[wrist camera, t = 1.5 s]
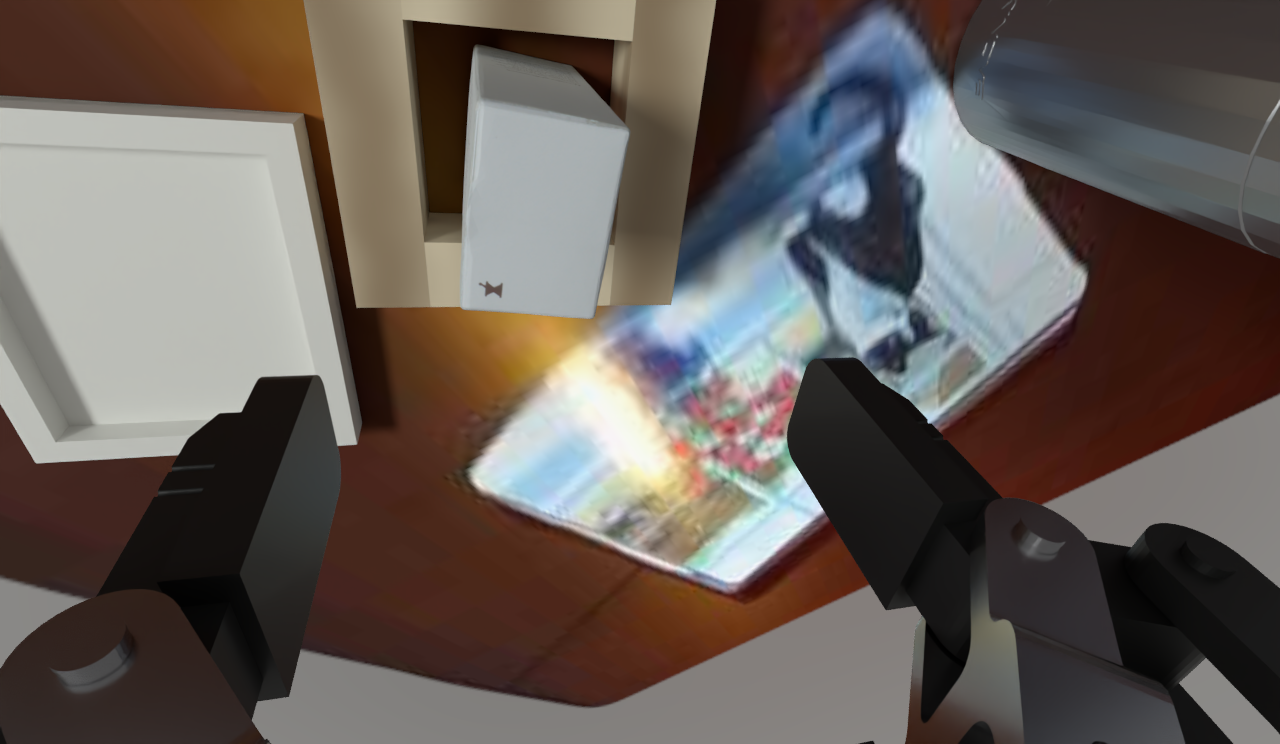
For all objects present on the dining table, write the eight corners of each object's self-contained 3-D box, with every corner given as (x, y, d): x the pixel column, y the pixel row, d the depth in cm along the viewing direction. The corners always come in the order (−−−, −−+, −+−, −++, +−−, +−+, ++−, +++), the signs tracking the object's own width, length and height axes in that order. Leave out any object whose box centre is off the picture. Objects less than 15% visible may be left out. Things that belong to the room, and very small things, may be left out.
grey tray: (303, 113, 25) (292, 123, 23) (362, 423, 33) (357, 444, 32) (-138, 87, 21) (-183, 97, 20) (56, 438, 30) (35, 463, 29)
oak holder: (694, -47, 24) (722, -47, 22) (654, 273, 32) (670, 304, 29) (310, -99, 21) (285, -106, 18) (368, 272, 29) (356, 307, 26)
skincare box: (556, 200, 29) (595, 327, 19) (462, 186, 28) (454, 314, 18) (577, 60, 26) (636, 128, 16) (472, 37, 24) (469, 96, 15)
